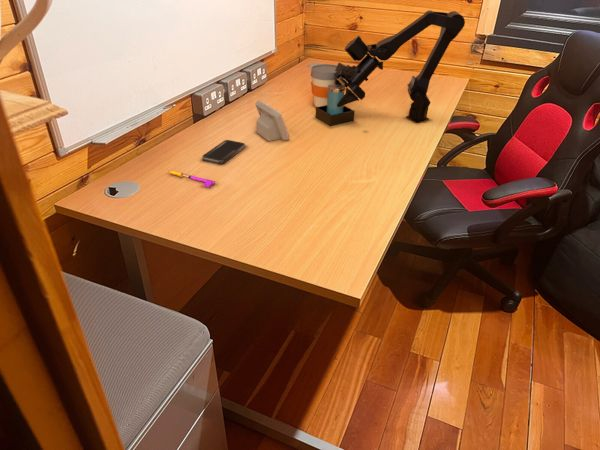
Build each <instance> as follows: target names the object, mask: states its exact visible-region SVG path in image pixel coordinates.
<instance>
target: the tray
mask: <svg viewBox="0 0 600 450" xmlns="http://www.w3.org/2000/svg"><path fill="white" fill-rule="evenodd" d="M355 112H356V110H354V109H352V108H350V107H348V106H347V105H344V107H343V113H339V114H335V115H330V114H328V113H327V105H325V106H320V107H316V106H315V119H317V120H318V121H320V122H321V123H324V124H325V125H327V126H329V127H335V126H338V125H343V124H348V123H352V122H354V121H355V114H356V113H355Z"/></svg>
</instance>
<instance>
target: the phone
mask: <svg viewBox="0 0 600 450" xmlns="http://www.w3.org/2000/svg"><path fill="white" fill-rule="evenodd" d="M245 148H246V144H245V142H240V141H236V140H231V139H225V140H223V141H222V142H220V143H219V144H217V145H216V146H214V147H213V148H212V149H210V150H209V151H207V152H206V153H204V154H203V155H202V160H203V161H204V162H208V163H212V164H217V165H224V164H226V163H227V162H228V161H229V160H231V159H233V157H235V156H236V155H237V154H239V153H240V152H241V151H243V150H244V149H245Z"/></svg>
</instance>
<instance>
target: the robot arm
mask: <svg viewBox="0 0 600 450" xmlns="http://www.w3.org/2000/svg"><path fill="white" fill-rule="evenodd" d="M465 24H466V19H465V18H464V16H463V15H462V14H460V12H459V11H456V10H453V11H449V12H444V11H433V10H430V9H429V10H427V11H425V12H424V13H423V14H422V15H421V16H419V17H418V18H417V19H415V20H413V21H412V22H411V23H410V24H408V25H406V26H405V27H404V28H402V29H401V30H400V31H398V32H396V33H395V34H393V35H391V36H387V37H385V38H383V39H381V40H379V41H377V42H376V43H372V44H368V45H367V44H366V42H364V41H363V39H362V37H361V36H360V35H357V36H356V37H355V38H353V39H352V40H350V41H349V42H348V43H347V44H346V46H344V49H343V50H344V51H345V53H346V54H347V55H348V56H349V57H350V58H351V59H352V60H353V61H354V62H356V61H357V62H359V63H358V64H357V65H352V66H351V65H349V64H344V63H342V62H338V63H337V64H336V65H337V67H336V69H335V71H337V72H336V73H335V74H334V76H335V77H336V78H335V77H334V81H335V83H334V84H340V85H343V86H345V92H344V96H343V97H342V98H341V100H340V101H339V102H338V104H337V106H338V107H341V106H343V105H344V106H347V105H348V104H351V103H353V102H357V101H363V99H364V98H365V97H366V92H365V91H364V90H363V89H362V88H361V87H360V86H361V85H362V84H363V83H364V82H367V81H369V78H368V77H369V76H371V74H373V72H374V71H375V70H376V69H377V68H378V69H379V70H381V71H382V70H384V62H385V61H388V60H390V58H392V57H393V56H394V55H395V54H396V53H397V51H399V49H400V48H401V47H402V46H403V45H404V44H406V43H407V42H409V41H410V40H411V39H413V38H414V37H416V36H417V35H418V34H420V33H421V32H423V31H424V30H426V29H427V28H428V27H430V26H437V27H440V31H439V36H438V38H437V40H436V42H435V44H434V45H433V48H432V49H431V51H430V53H429V55H428V57H427V59H426V61H425V62H424V64H423V66H422V69H421V71H420V72H419V74H417V75H416V76H414V75H412V76H411V78H410V81H409V82H408V84H407V94H408V96H409V99H410V100H411V101H412V102H411V103H410V108H409V110H408V111H409V113H408V115H407V116H405V118H406V119H407V120H409V121H412V122H414V123H417V124H420V123H423V122H427V121H430V118H429V117H428V112H429V106H430V105H431V103H432V102H431V100H430V99H429V97H428V95H427V93H428V91H429V85H430V82H431V78H432V77H433V75H434V73H435V72H436V70H437V68H438V66H439V64H440V62H441V60H442V58H443V57H444V55H445V53H446V51H447V49H448V48H449V46H450V44H451V42H452V41H453V40H455V39H456V37H458V35H459V34H460V33H461V32H462V31H463V29H464V27H465Z"/></svg>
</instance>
